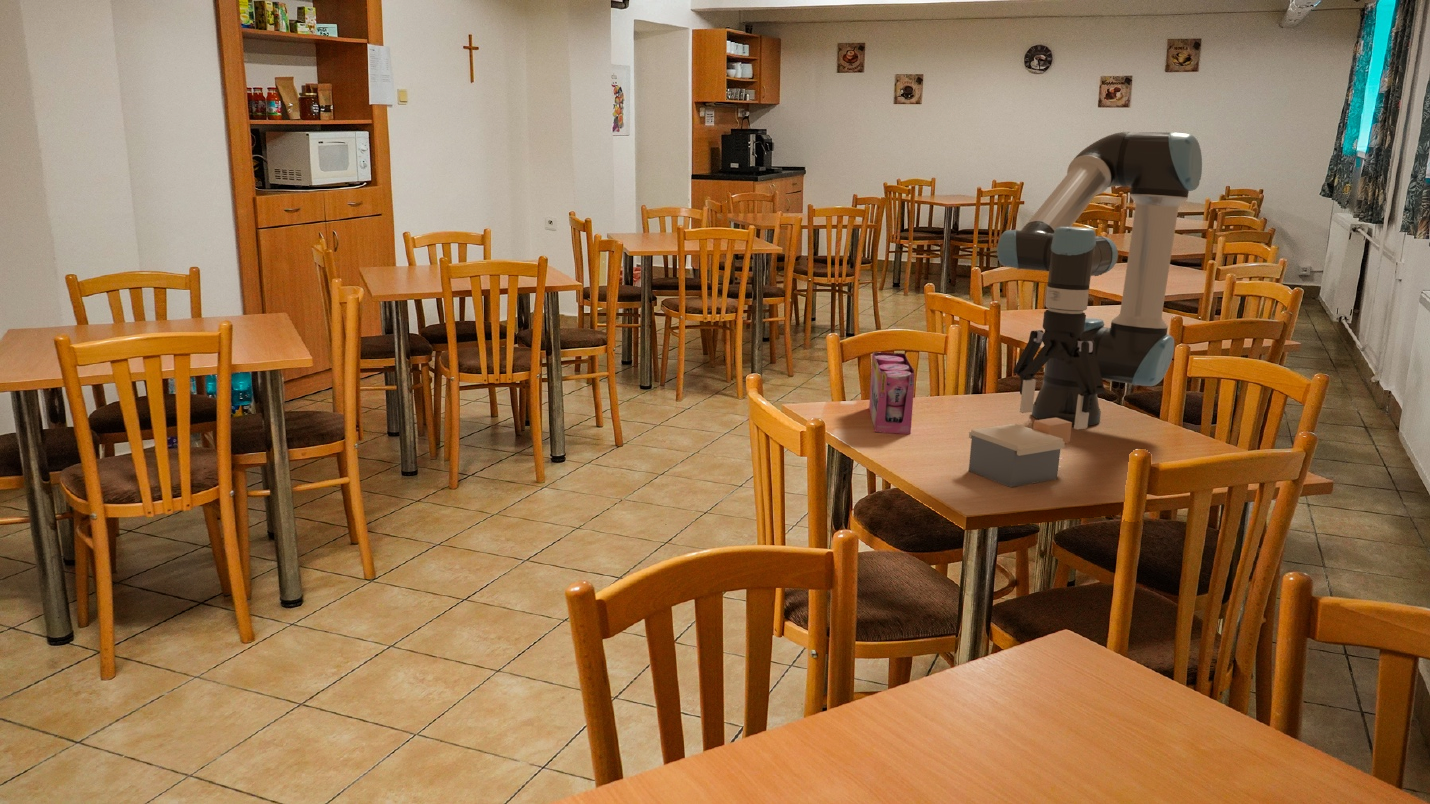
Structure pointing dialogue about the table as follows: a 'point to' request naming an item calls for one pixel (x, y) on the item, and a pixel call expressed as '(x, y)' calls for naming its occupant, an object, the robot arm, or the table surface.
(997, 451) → the tub
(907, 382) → the gum box
